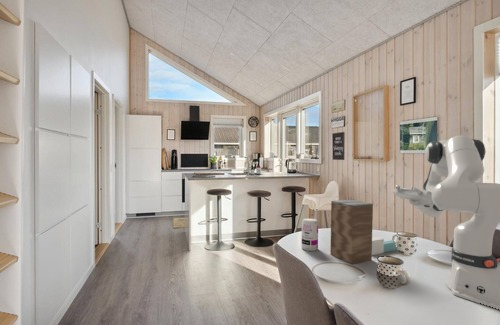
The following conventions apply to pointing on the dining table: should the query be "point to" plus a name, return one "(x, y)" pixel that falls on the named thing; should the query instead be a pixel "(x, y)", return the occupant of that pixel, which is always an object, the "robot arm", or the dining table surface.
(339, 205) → the pedestal
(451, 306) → the dining table surface
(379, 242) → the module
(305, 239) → the supplement can
